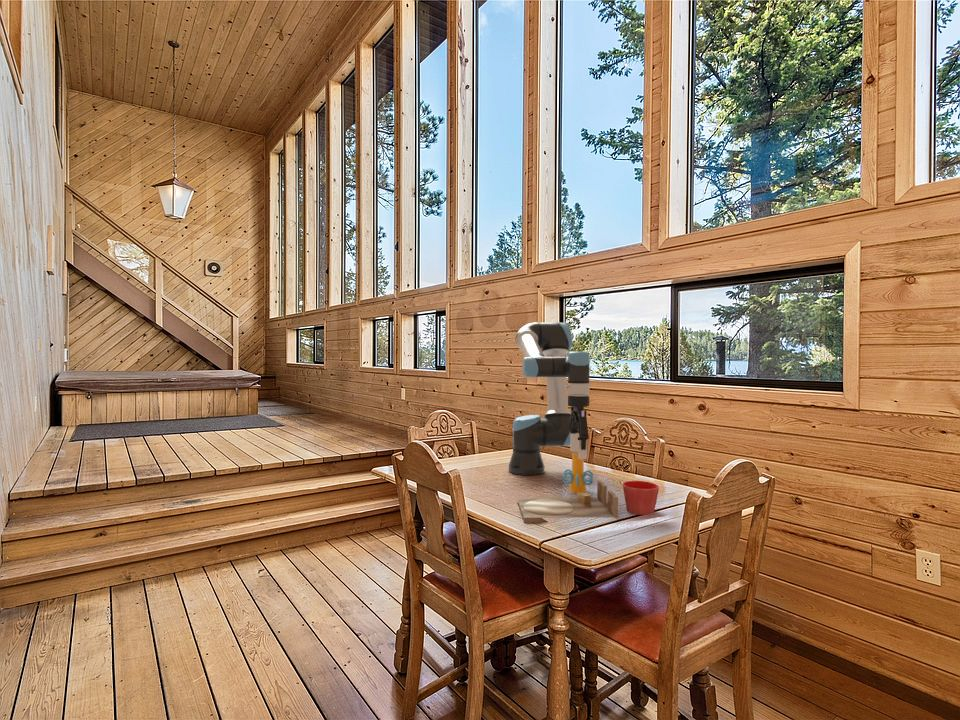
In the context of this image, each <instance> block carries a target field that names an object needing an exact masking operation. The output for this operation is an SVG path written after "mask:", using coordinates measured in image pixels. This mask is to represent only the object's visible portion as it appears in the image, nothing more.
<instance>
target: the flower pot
mask: <svg viewBox="0 0 960 720" xmlns="http://www.w3.org/2000/svg"><path fill="white" fill-rule="evenodd" d="M622 487H623V488H622V489H623V495H624V501H625V502H624V503H625V507H626V511H627V512H629V513H632V514H635V515H645V516H646V515H648V516H649V515H653V514H654V513H655V509H656V506H657V500H658V495H659V490H660V489H659V488H660V486H659V485H658V484H657V483H654V482H649V481H643V480H628V481H624V482H622ZM647 519H649V518H647Z"/></svg>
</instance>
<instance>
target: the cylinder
mask: <svg viewBox="0 0 960 720" xmlns="http://www.w3.org/2000/svg"><path fill="white" fill-rule="evenodd" d="M571 459H572V460H571V469H568V468H567V469H565V470H563V471H564V472H563V475H562V481H563V483H564V484H565V485H569V486H568V487H569V488H568V489H569V492H570V493H572V494H577V495H578V493H580V492H585V493H587V486H590V485H592V484H593V481H594V480H593V478H594V475H593V472H592V471H591V470H589V469H588V470H584V469H585V468H584V466H585V463H584V461H585V459H579V451H573V452H572V454H571ZM568 475H570V478H568V477H567V476H568ZM586 476H588V477H589V479H586Z"/></svg>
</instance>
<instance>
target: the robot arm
mask: <svg viewBox="0 0 960 720" xmlns="http://www.w3.org/2000/svg"><path fill="white" fill-rule="evenodd" d="M571 330H572V329H571V328H570V326H569V325H568V323H566V322H560V321H559V322H558V321H556V322H535V321H534V322H530V323H527V324H525V325H523V326H522V327H521V328H519V330H518V331H517V333H516V335H515V344H516V347H517V348H518V349H519V350H520V351H521V353H522V356H523V359H522V363H521V365H522V375H523V376H524V377H526V378H546V379H545V380H546V396H547V397H546V399H547V400H546V401H547V411H546V412H545V414H544V415H543V416H544V418H542V417H541V415H540V414H529V415H523V416H518V417H516V418H514V420H513V422H512V454H511V457H510V460H509V464H508V472H509V473H511V474H513V475H514V474H515V475H520V476H535V475H542V474H544V473H545V463H544V460H543V458H542V454H541V447H570V450H569V451H570V452H579V459H584V460H587V459H588V439H590V436H589V428H588V417H587V410H584V408H587V407H590V396H589V395H590V391H591V390H590V388H591V387H590V386H591V385H590V363H591V360H590V354H589V352H588V351H569V350H570V349H571V348H572V347H573V335H572V331H571ZM569 407H570V410H569Z"/></svg>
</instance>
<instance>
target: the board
mask: <svg viewBox="0 0 960 720" xmlns="http://www.w3.org/2000/svg"><path fill="white" fill-rule="evenodd" d="M596 481H597V482H596V483H597V485H596V486H597V487H596V491H597V492H596V494H597V495H596V496H597V497H591V504H590V505H583V504H581V503H579V502H578V497H531V498H529V497H524V498H523V497H520V498H516V500H517V502H516V503H517V506H518V509H519V512H520V515H521V517H522V521H523V523H524V524H525V523H527V524H529V523H531V524H533V523H534V524H535V523H536V524H537V523H548V520H546V519H545V518H547V519H548V518H551V519H552V518H553V519H554V518H555V519H556V518H561V519H562V518H565V519H566V518H620V516H619V497H618V495H616V494H615V493H614V491H613V490H610V489H609V490H608V485H606V484H605V483H604V482H603V481H602V480H601V479H598V480H596Z"/></svg>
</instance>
